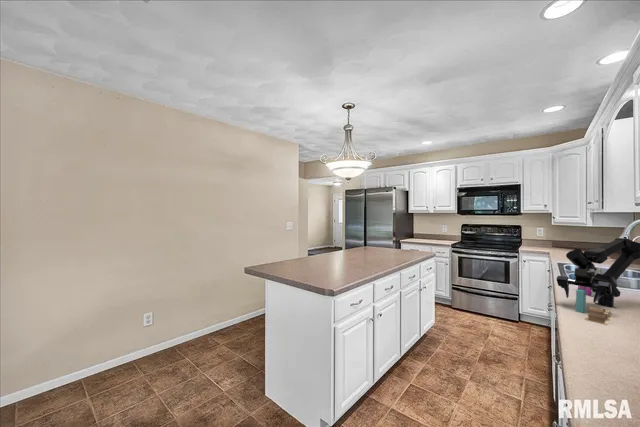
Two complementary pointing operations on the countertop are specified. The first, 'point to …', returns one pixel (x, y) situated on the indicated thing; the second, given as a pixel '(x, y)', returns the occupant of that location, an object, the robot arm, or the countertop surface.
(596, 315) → the offcut stack
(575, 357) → the countertop surface
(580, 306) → the teal panel
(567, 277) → the robot arm
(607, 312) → the rack
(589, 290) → the candy bar box
